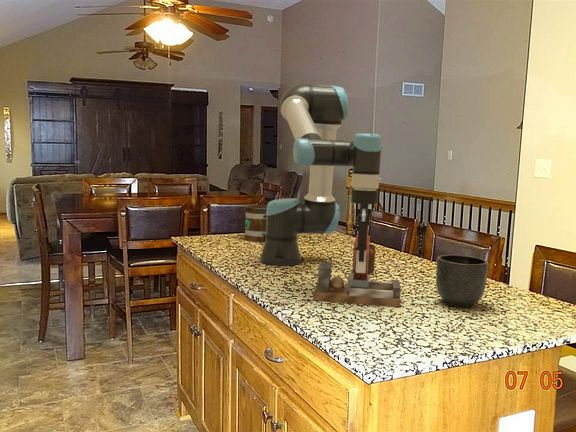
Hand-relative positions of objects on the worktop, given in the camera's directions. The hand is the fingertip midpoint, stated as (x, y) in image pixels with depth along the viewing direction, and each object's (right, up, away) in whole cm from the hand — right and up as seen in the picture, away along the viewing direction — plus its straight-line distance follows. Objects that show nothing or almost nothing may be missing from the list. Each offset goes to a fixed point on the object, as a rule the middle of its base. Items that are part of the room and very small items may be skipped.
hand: (360, 270), depth 154 cm
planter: (+28, -10, -1) cm, 30 cm away
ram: (-1, -6, +1) cm, 6 cm away
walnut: (-7, -6, +2) cm, 9 cm away
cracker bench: (-1, -8, +1) cm, 8 cm away
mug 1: (-33, +4, +89) cm, 95 cm away
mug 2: (+6, -4, +33) cm, 34 cm away
